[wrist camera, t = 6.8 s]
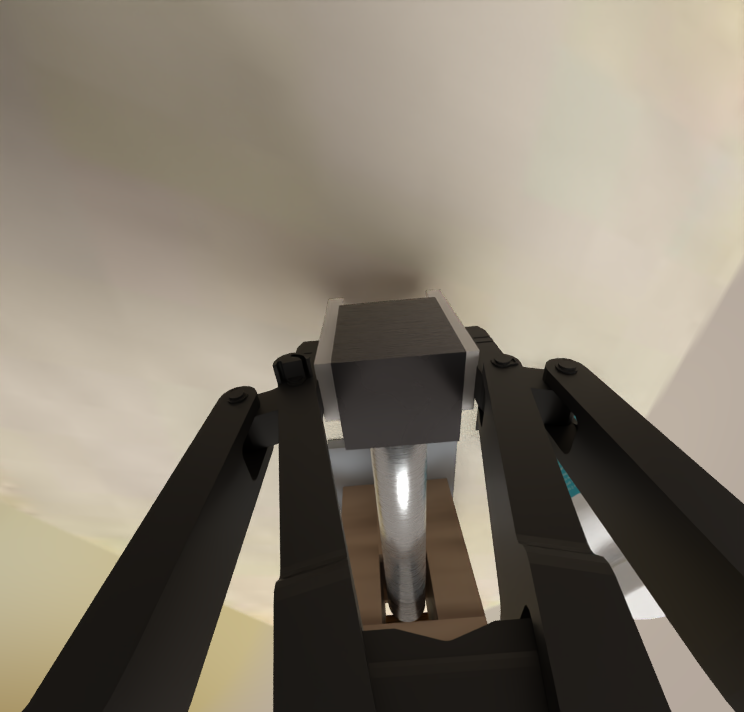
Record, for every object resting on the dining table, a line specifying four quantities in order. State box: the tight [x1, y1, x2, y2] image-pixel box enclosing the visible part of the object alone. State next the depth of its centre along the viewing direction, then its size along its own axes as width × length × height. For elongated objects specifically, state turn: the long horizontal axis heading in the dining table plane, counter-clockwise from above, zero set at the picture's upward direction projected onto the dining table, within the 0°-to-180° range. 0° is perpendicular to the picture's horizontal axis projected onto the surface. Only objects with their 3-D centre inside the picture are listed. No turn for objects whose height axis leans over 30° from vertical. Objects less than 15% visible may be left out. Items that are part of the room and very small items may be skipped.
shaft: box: [331, 297, 466, 622], centre depth 18 cm, size 23×4×5 cm, turn 5°
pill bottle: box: [556, 416, 665, 619], centre depth 21 cm, size 8×7×14 cm
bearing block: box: [328, 439, 487, 641], centre depth 28 cm, size 22×11×13 cm, turn 5°
